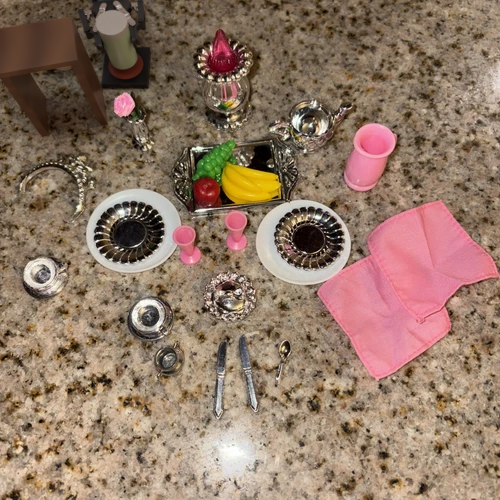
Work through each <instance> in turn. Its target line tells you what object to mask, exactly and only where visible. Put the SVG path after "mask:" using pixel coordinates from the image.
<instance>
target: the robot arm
mask: <svg viewBox="0 0 500 500" xmlns="http://www.w3.org/2000/svg"><path fill="white" fill-rule="evenodd" d="M91 4H92V5H91V7H90V9H89V10H84V9H83V8H79V9H77V13H78V16H79V19H80V23H81V25H82V28H83V31H84V33H85V36H86V38H87V40H93V39H94V44H95V47H96V50H97V51H98V52H100V53H101V54H105V47H104V44H103V42H102V39H101V37H100V34H99V32H98V30H97V28H96V20H97V18H98V16H99V15H100V14H102V13H103V12H106V11H109V10H117V11H120V12H122V13H123V14H124V15H125V16H126V18H127V21H128V26H129V29H130V34H131V39H132V43H133V47H134V48H135V47H138V45H140V37H139V32H140V30H141V31H145V30H146V29H147V20H146V19H147V18H146V7H145V3H144V0H137V1H136V2H131V1H130V0H91ZM133 11H134V12H135V14H137V20H134V19H133V17H131V13H133ZM92 18H94V19H95V23H94V25H93V27H91V26H90V24H91V21H92Z"/></svg>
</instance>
